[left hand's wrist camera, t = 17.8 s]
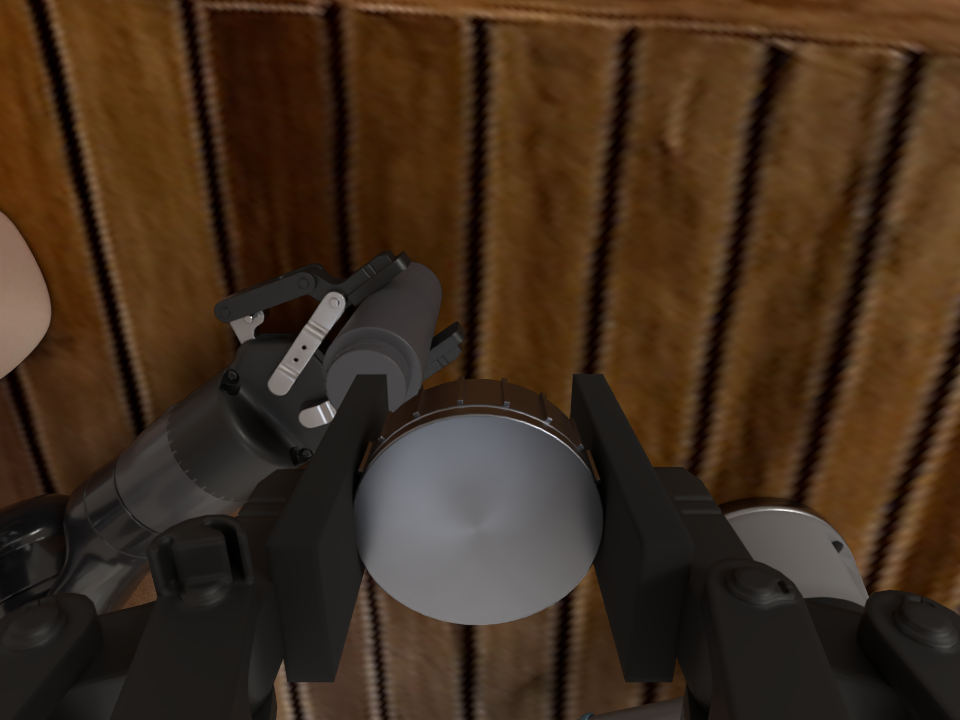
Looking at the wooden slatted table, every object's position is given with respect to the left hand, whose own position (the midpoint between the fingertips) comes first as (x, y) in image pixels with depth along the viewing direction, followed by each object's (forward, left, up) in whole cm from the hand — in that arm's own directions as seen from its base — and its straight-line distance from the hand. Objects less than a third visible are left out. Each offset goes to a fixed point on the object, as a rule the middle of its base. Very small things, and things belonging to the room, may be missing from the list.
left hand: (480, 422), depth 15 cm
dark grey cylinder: (-3, +5, -24) cm, 25 cm away
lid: (0, 0, +4) cm, 4 cm away
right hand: (-1, +3, -18) cm, 18 cm away
